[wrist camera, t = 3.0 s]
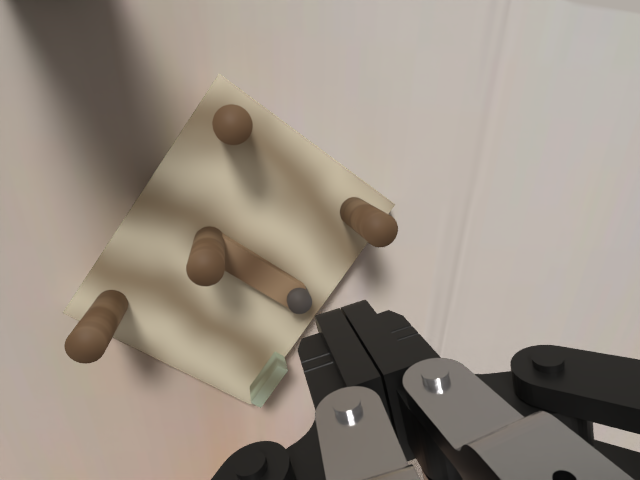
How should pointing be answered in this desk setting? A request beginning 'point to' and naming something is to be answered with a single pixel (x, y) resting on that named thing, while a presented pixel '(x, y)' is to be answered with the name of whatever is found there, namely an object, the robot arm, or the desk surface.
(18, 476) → the desk surface
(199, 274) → the swing leg
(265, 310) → the stool frame
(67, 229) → the desk surface
